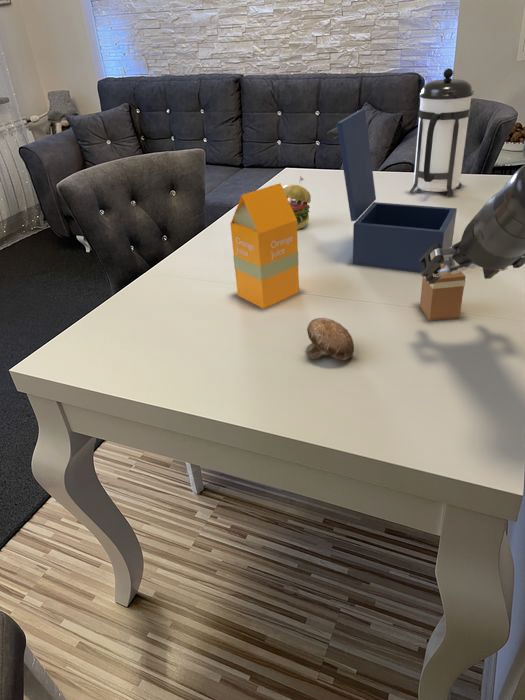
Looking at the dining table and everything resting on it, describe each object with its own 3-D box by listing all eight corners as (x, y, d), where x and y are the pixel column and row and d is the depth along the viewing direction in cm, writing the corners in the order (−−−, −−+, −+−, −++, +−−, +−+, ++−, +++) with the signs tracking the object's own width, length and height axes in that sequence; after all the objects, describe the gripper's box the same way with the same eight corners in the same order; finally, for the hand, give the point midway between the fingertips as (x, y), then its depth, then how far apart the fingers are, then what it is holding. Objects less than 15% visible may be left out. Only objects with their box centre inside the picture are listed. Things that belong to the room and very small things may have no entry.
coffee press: (395, 187, 151) (403, 69, 135) (448, 181, 153) (462, 63, 137) (421, 205, 137) (433, 75, 121) (479, 198, 139) (499, 68, 123)
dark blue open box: (451, 250, 112) (456, 208, 107) (438, 277, 101) (444, 232, 97) (371, 242, 119) (373, 202, 114) (352, 266, 108) (353, 223, 103)
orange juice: (237, 298, 100) (226, 191, 89) (272, 282, 104) (266, 179, 94) (264, 311, 95) (255, 199, 84) (300, 295, 99) (296, 186, 88)
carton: (448, 306, 92) (454, 263, 88) (459, 320, 88) (466, 276, 83) (418, 309, 92) (423, 266, 87) (428, 323, 87) (434, 279, 83)
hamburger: (274, 228, 130) (271, 178, 124) (295, 220, 134) (293, 171, 127) (296, 235, 125) (294, 184, 119) (317, 227, 129) (317, 176, 122)
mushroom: (288, 347, 78) (312, 313, 76) (301, 339, 85) (323, 307, 84) (332, 380, 77) (358, 346, 75) (341, 369, 84) (365, 337, 82)
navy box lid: (364, 108, 105) (341, 113, 107) (341, 122, 95) (316, 126, 97) (376, 199, 113) (354, 201, 116) (356, 220, 103) (332, 222, 105)
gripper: (557, 194, 65) (499, 248, 81) (442, 204, 65) (406, 256, 81) (570, 251, 64) (509, 294, 80) (453, 262, 63) (414, 303, 79)
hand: (457, 275), depth 80 cm, fingers open, 8 cm apart
